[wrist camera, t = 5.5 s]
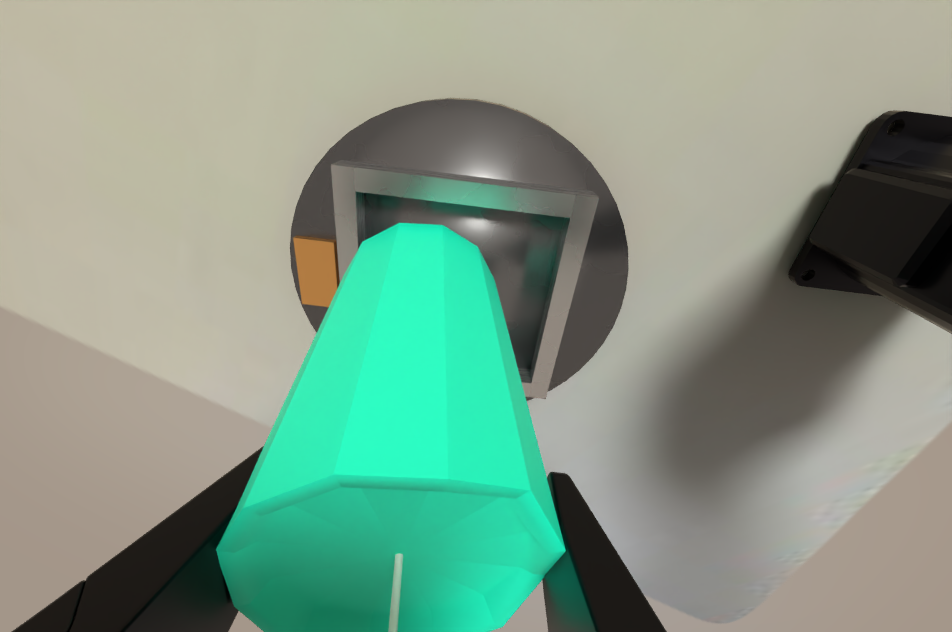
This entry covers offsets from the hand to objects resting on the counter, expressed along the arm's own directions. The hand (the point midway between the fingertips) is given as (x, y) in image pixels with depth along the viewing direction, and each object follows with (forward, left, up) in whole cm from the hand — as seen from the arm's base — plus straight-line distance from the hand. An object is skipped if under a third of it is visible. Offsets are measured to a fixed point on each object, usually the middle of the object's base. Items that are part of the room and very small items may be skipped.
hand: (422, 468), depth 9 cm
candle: (+2, 0, -8) cm, 8 cm away
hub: (0, 0, -10) cm, 10 cm away
